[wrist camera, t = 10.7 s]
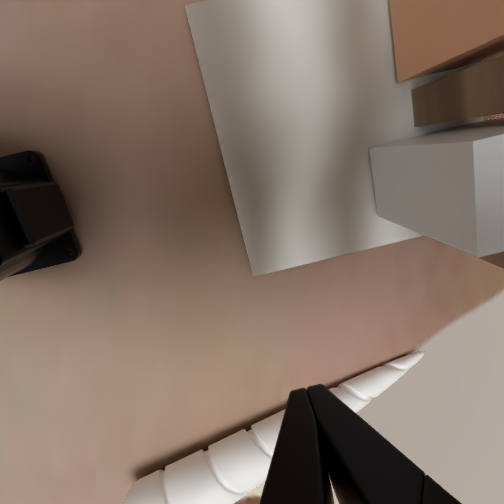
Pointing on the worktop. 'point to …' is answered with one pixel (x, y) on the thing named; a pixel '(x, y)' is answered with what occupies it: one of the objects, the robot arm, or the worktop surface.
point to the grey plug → (446, 185)
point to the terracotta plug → (445, 34)
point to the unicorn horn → (248, 451)
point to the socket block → (319, 119)
